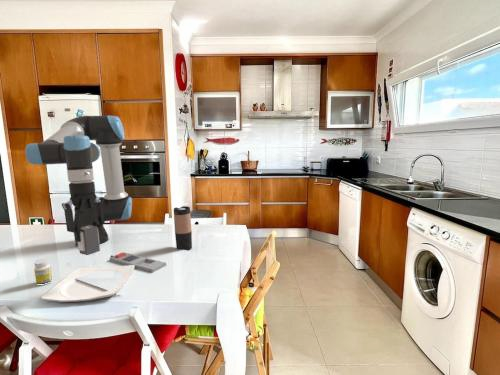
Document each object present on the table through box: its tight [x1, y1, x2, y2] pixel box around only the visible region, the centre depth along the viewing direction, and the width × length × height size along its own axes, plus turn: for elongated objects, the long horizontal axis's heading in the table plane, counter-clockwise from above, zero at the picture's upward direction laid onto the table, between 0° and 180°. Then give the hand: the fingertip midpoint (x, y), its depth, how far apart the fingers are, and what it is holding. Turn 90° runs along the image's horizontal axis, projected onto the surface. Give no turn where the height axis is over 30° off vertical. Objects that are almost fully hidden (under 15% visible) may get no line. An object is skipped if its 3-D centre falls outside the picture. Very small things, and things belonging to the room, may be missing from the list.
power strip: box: [109, 252, 167, 273], centre depth 118 cm, size 30×7×3 cm, turn 61°
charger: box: [78, 225, 101, 256], centre depth 99 cm, size 4×4×9 cm
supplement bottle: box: [34, 258, 53, 285], centre depth 104 cm, size 5×5×8 cm
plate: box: [40, 265, 135, 303], centre depth 101 cm, size 24×24×3 cm
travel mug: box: [173, 205, 193, 251], centre depth 134 cm, size 8×8×20 cm
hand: (89, 247), depth 99 cm, fingers closed on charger, 4 cm apart
